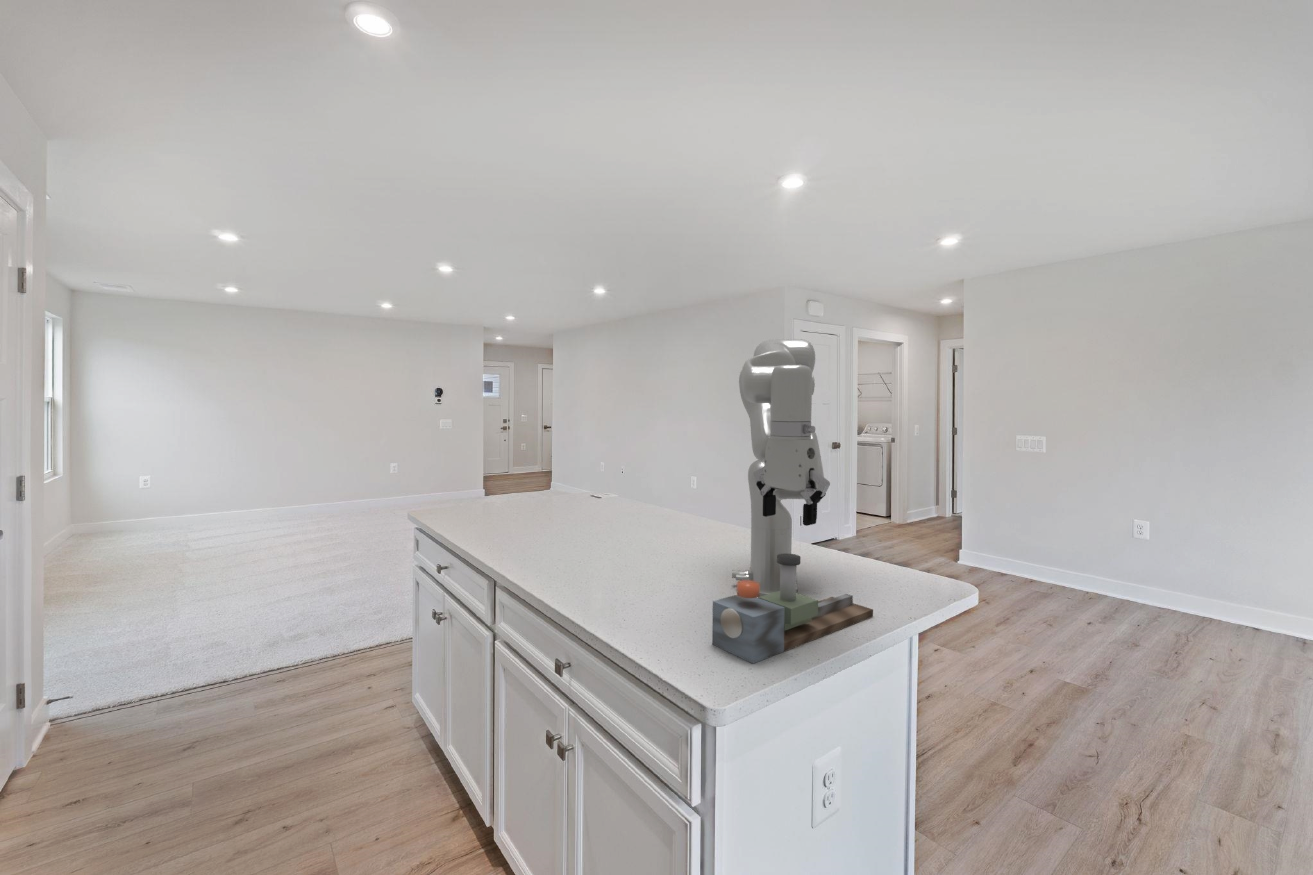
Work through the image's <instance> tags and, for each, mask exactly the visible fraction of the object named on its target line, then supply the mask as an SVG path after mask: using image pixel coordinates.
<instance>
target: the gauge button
mask: <svg viewBox="0 0 1313 875" xmlns="http://www.w3.org/2000/svg"><path fill="white" fill-rule="evenodd" d="M759 590H760V584H759V583H758V582H756V581H751V580H741V581H740V580H737V582H736V595H738V596H740V597H743V598H756V597H757V598H758V597H760V596H759Z"/></svg>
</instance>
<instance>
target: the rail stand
mask: <svg viewBox="0 0 1313 875" xmlns="http://www.w3.org/2000/svg"><path fill="white" fill-rule="evenodd" d="M853 598H854V595H852V594H849V593H845V594H841V595H838V596H836V597H835V596H829V597H827V598H824V599H821V600H818V616H815V617H812V621H810V622H807V623H805V624H802V625H799V626H796V627H793V628H791V629H788V630H785V631H784V613H785V607H782V606H779V605H776V604H774V603H771V602H768V601H765V600H762V599H759V598H758V597H756V598H743V597H740V596H738V595H737V594H734V595H730V596H727V597H723V598H719V599H715V600H712V630H711V631H712V632H711V634H712V635H711V637H712V642H711V643H712V645H713V646H715V647H717V648H719V649H721V650H723V651H725V652H727V653H730V654H732V655H733V656H736V657H737V658H738V657H739V658H740V659H742V660H744V661H746V662H749V663H751V664H756V663H759V662H761V661H764V660H767V659H768V658H771V657H773V656H776V655H779V654H781V653H783V652H786V651H789V650H792V649H794V648H796V647H799V646H802V645H804V644H807V643H809V642H812V641H813V640H817V639H819V638H823V637H824V636H827V635H830V634H832V633H834V632H838V631H839V630H842V629H844V628H848V627H850V626H852V625H855V624H858V623H860V622H862V621H865V620H868V619H870V618H873V617H874V609H873V608H869V607H867V606H863V605H860V604H856V603H854V600H853Z"/></svg>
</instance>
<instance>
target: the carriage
mask: <svg viewBox="0 0 1313 875" xmlns="http://www.w3.org/2000/svg"><path fill="white" fill-rule="evenodd" d="M777 563H778V564H781V567H780V591H778V592H774V593H771V594H767V595H764V596H759V597H757V598H759V599H762V600H765V601H768V602H771V603H774V604H776V605H779V606H782V607H785V613H784V631H785V630H788V629H791V628H793V627H796V626H799V625H802V624H805V623H807V622H810V621H812V617H815V616H818V601H819V599H816V598H813V597H810V596H807V595H804V594H800V593H798V592H797V593H796V586H797V569H798V568H797V566H799V565H801V556H800V555H798V554H796V553H795V554H794V553H791V554H788V553H784V554H778V555H777Z"/></svg>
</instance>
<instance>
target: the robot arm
mask: <svg viewBox="0 0 1313 875" xmlns="http://www.w3.org/2000/svg"><path fill="white" fill-rule="evenodd" d="M815 364H816V352H815V349H814V346H813V344H812V343H811V342H810V341H809V340H806V339H802V338H801V339H798V338H797V339H796V338H795V339H794V338H793V339H791V338H790V339H787V338H786V339H784V338H782V339H779V338H778V339H777V338H776V339H767V340H764V341H762V342H760V343H759V344H758V345H757V346H756V348H755V349H754V352H753V357H750V358H748V359H746V361H745V362H744V364H743V366H742V369H741V371H740V372H739V373H740V374H739V377H738V385H739V386H738V387H739V394H740V398H741V401H742V404H743V407H744V409H745V411H746V413H747V415H748V417H749V422H750V423H749V424H750V425H749V426H750V438H751V448H752V453H753V456H754V457H755V459H757V460H755V461H753V462H752V463H750V465H749V467H748V471H747V480H748V487H749V488H748V489H749V496H750V497H749V498H750V509H751V510H750V516H751V517H750V526H751V527H750V566H749V569H745V571H744V570H738V569H737V570H735V569H732V572H731V579H735V581H742V580H751V581H756V582H758V583H759V584H760V590H759V597H760V596H764V595H767V594H771V593H774V592H778V591H780V567H781V564H778V563H777V555H778V554H784V553H788V554H792V544H793V543H792V540H793V539H792V538H793V537H792V535H793V532H792V531H793V520H792V519H793V518H792V516H791V514H790V511H789V510H788V509H787V508H786V507H785V506H784V504H783V503H782V502H781V501H782V500H804V502H805V503H803V505H802V525H803V526H804V527H805V526H806V527H807V526H808V527H809V526H811V525H815V524H817V519H818V504H820V503H821V500H822V499H823V498H824V497H825V496H826V492H828V489H829V487H830V486H831V482H830V481H829V480H828V479H827V478H825V474H824V468H823V463H822V462H823V461H822V456H821V450H820V445H819V440H818V436H817V433H816V426H814V425H812V404H813V403H812V402H813V395H814V393H815V387H816V386H815V384H816V383H815V377H814V375H813V372H814V368H815ZM796 593H798V586H797V585H796Z"/></svg>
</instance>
